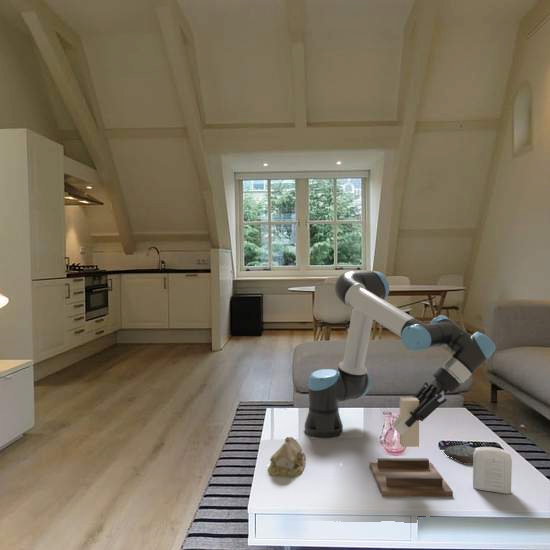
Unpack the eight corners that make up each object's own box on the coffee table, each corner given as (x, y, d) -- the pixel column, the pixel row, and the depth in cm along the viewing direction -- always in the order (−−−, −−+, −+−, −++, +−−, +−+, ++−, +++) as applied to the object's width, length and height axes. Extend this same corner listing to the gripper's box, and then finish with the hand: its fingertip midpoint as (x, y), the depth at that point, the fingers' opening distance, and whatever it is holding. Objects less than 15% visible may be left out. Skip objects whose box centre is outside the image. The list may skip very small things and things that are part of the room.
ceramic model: (296, 481, 135) (296, 449, 134) (263, 474, 139) (262, 443, 139) (311, 462, 147) (311, 432, 147) (280, 456, 152) (280, 427, 152)
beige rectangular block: (399, 442, 135) (399, 397, 135) (416, 442, 135) (415, 397, 135) (402, 446, 132) (402, 400, 132) (419, 446, 132) (419, 400, 132)
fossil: (472, 469, 142) (472, 457, 142) (438, 454, 153) (438, 443, 153) (489, 461, 148) (490, 449, 148) (455, 447, 159) (455, 436, 159)
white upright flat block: (509, 488, 129) (510, 447, 129) (512, 495, 125) (513, 453, 125) (471, 483, 132) (472, 442, 132) (473, 490, 128) (474, 448, 128)
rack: (369, 467, 143) (369, 454, 143) (431, 467, 143) (431, 454, 143) (382, 496, 125) (382, 482, 125) (452, 496, 125) (452, 482, 125)
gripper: (471, 391, 125) (413, 449, 125) (449, 377, 141) (398, 428, 142) (453, 373, 125) (394, 431, 125) (433, 360, 141) (381, 412, 141)
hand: (396, 429), depth 133 cm, fingers closed on beige rectangular block, 3 cm apart
